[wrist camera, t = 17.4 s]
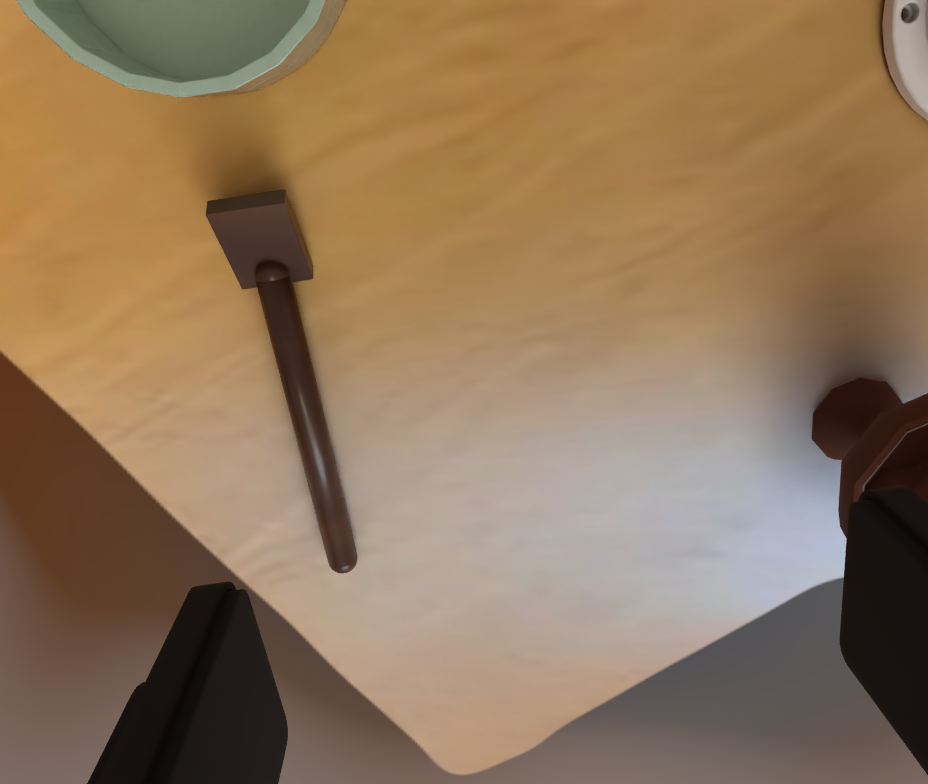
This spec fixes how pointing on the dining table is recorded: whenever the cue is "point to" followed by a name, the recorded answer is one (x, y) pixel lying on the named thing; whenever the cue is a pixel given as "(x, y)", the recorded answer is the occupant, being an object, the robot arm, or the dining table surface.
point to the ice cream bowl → (873, 440)
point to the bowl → (188, 40)
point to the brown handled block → (287, 342)
